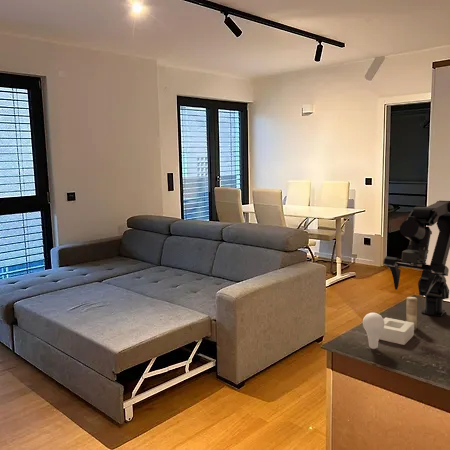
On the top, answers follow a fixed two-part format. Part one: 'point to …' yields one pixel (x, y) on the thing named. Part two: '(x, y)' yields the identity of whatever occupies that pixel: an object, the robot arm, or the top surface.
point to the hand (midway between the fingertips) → (410, 292)
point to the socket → (397, 331)
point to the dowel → (411, 311)
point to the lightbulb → (373, 328)
